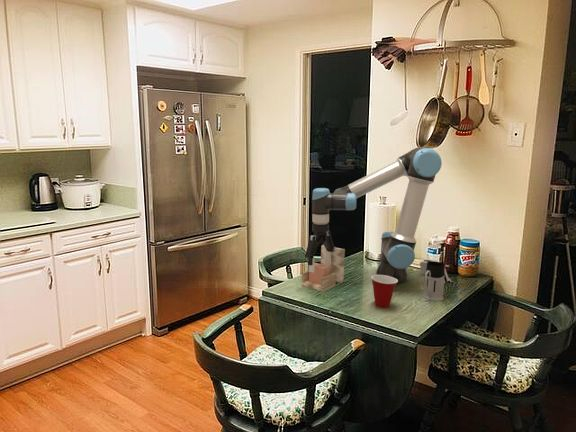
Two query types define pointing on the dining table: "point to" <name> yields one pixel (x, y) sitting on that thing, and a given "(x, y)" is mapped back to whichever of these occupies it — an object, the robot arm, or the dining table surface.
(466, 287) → the dining table surface
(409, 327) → the dining table surface
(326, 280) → the wooden block stack
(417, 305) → the dining table surface
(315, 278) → the rail end
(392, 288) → the plastic cup
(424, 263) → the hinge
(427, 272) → the glass holder
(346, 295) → the dining table surface
